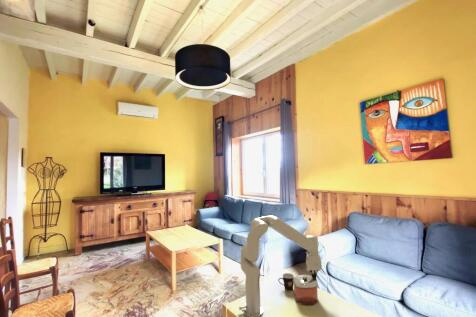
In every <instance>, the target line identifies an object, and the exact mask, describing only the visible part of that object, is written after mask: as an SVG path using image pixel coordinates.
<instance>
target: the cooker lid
mask: <svg viewBox="0 0 476 317" xmlns="http://www.w3.org/2000/svg"><path fill="white" fill-rule="evenodd" d="M318 282H319V281H318V279H317V278H316V279H315V280H314V279H313V278H312V275H309V274H299V275H295V276H294V278H293V286H294V285H295V286H297V287H300V288H313V287H315V286H317V287H318V284H319V283H318Z"/></svg>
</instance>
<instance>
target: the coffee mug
mask: <svg viewBox="0 0 476 317" xmlns="http://www.w3.org/2000/svg"><path fill="white" fill-rule="evenodd" d="M294 277H295V275H294V274H292V273H290V272H289V273H287V272H286V273H283V274H282V277H279V278H278V283H279V284H280V285H282V286H284V289H285V291H288V292H291V291H294V284H293V278H294ZM280 279H281V280H282V281H283V283H282V282H281V281H280Z"/></svg>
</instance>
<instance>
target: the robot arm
mask: <svg viewBox="0 0 476 317" xmlns="http://www.w3.org/2000/svg"><path fill="white" fill-rule="evenodd" d="M250 227H251V230H250V231H249V232H248V234H247V237H246V242H245V243H244V244H243V245H242V246H241V249H240V270H241V271H242V272H243V273H244V275H245V284H244V287H245V303H244V305H242V306H238V309H239V311H241V312H243V313H245V314H244V315H245V316H246V315H247V316H246V317H248V316H249V317H262V315H263V314H264V309H263V308H262V306H261V289H260V288H261V286H260V283H261V282H260V278H261V270H260V268H259V266H258V264H256V262H257V261H258V260H259V257H260V241H261V238H262V237H263V235H265V234H267V232H268V230H269V228H270V229H273V230H274V231H275V232H277V233H278V234H280V235H282V236H283V237H284V238H286V239H288V240H290V241H292V242H293V243H295V244H296V245H297V246H299V247H300V248H303V249H304V250H306V251H305V254H306V258H305V267H306V271H307V272H310V273H311V276H312V278H313V279H314V280H315V279H317V278H318V277H317V274H318V271H322V266H323V265H322V260H321V255H320V254H319V241H318V240H319V239H318V238H319V237H318V236H317V235H315V234H308V235H305V234H303V233H302V232H300V231H299V230H298V229H295V228H294V227H293V226H291V225H290V224H288V223H287V222H285V221H284V220H282V219H281V218H279V217H278V216H275V215H274V214H273V215H271V214H270V215H265V216H261V217H256V218H254V219H252V220H251V222H250Z"/></svg>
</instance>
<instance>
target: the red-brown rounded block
mask: <svg viewBox="0 0 476 317" xmlns="http://www.w3.org/2000/svg"><path fill="white" fill-rule="evenodd" d="M293 291H294V292H293V293H294V301H295V302H296V303H298V304H300V305H303V306H314V305H316V304H317V303H318V302H319V298H318V285H317V286H315V287H313V288H300V287H297V286H295V285H294V284H293Z"/></svg>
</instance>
